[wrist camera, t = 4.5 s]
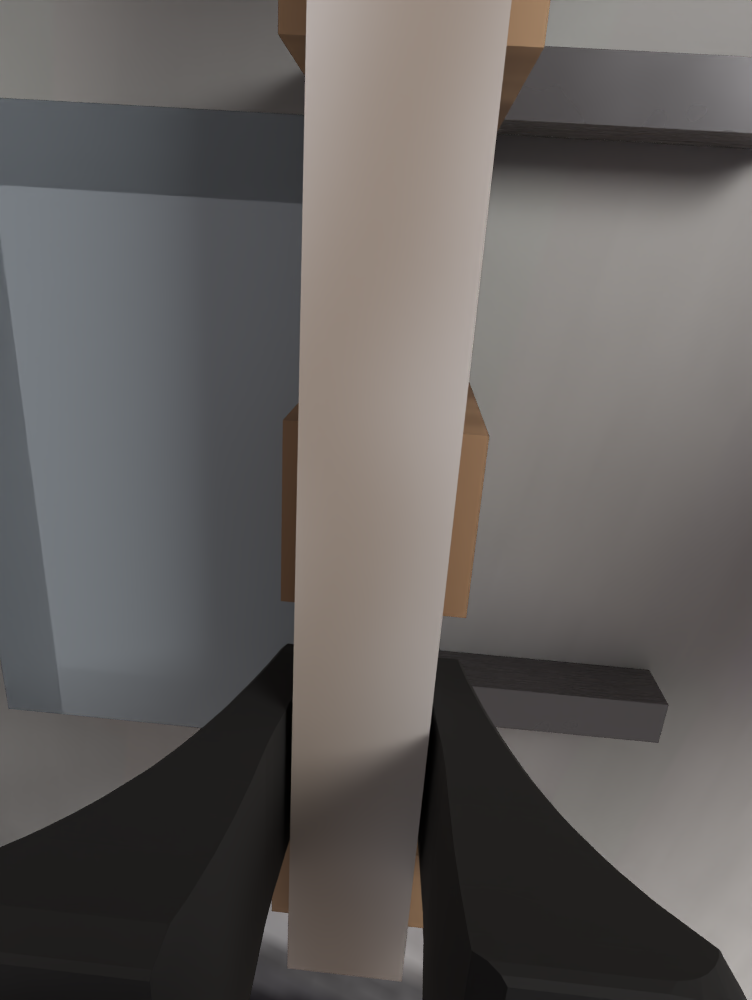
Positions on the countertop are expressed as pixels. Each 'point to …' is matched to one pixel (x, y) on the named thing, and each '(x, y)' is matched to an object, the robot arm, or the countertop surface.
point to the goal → (144, 403)
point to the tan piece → (383, 437)
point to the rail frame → (632, 118)
